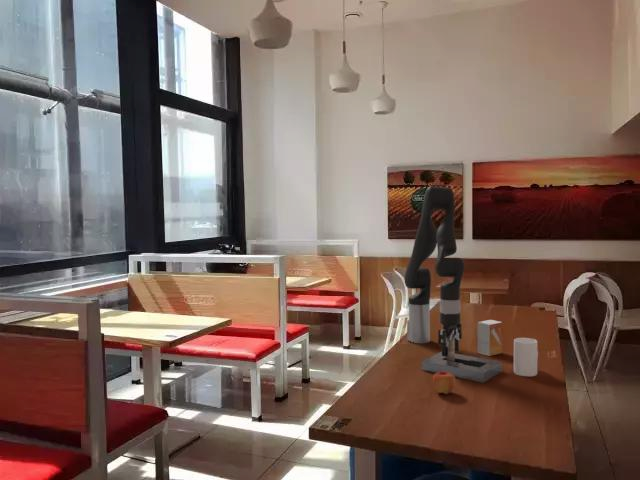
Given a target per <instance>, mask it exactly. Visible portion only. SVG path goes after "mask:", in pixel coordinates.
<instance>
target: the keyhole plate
mask: <svg viewBox="0 0 640 480" xmlns="http://www.w3.org/2000/svg"><path fill="white" fill-rule="evenodd" d="M502 365H503V362H502V361H499V360H493V359H487V358H483V357H476V356H471V355H466V354H460V353H455V362H452V361H447V357H444V356H442V351H439V352H438V353H435V354H434V355H431V356H429V357H427V358H425V359H423V360H421V370H422V371H426V372H429V373H434V374H435V373H437V372H440V370H441V371H445V372H449V373H452V374H453V375H454V376H455V378H459V379H464V380H469V381H473V382H477V383H483V384H484V383H485V382H487V381H489V380H490V379H492V378H494V377H495V376H497V375H499V374H500V373H501V372H503V371H502V370H503V369H502V368H503V367H502ZM439 368H440V369H439Z"/></svg>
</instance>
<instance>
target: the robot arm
mask: <svg viewBox="0 0 640 480" xmlns="http://www.w3.org/2000/svg"><path fill="white" fill-rule="evenodd" d="M423 197H424V198H423V203H422V209H421V215H420V220H419V224H418V228H417V231H416V235H415V238H414V243H413V247H412V252H411V255H410V258H409V262H408V264H407V267H406V270H405V273H404V284H405V287H406V288H408V289H413V290H414V289H419V290H418V291H417V292H416V293H414V294H412V295H410V296H409V297H408V319H407V320H406V327H407V328H406V331H407V332H406V333H407V334H406V335H407V336H406V337H407V340H409V342H410V341H411V343H413V342H414V344H427V343H430V342H431V328H430V327H431V326H430V325H431V321H430V320H431V319H430V318H431V317H430V316H431V313H430V309H431V308H430V307H431V306H430V304H431V303H430V300H431V288H432V287H431V285H432V283H431V281H432V277H431V270H430V269H429V268H428V267H421V266H422V265H423V263H424V262H425V261H426V260H427V259H428V258H429V257H430V256H431V255H432V254H433V253H434V252H435V250H436V248H437V256H436V257H437V258H436V261H435V266H434V270H435V273H436V275H437V276H438V277H441V278H442V277H443V278H446V277H447V278H449V277H453V278H452V280H450V281H448V282H444V283H442V284H440V287H439V290H440V293H439V294H440V295H439V297H440V301H439V323H440V324H441V325H442V326H443V327H442V329H441V328H438V336H437V337H438V338H437V339H438V340H437V345H438V346H441V352H442V356H444V357H447V356H448V344H449V342H450V341H451V338H452V337H455V353H456V352H459V351H460V349H459V347H460V346H459V343H460V340H462V335H463V331H462V323H461V322H462V321H461V300H460V299H461V298H460V297H461V294H460V292H461V291H460V289H461V284H462V279H463V276H464V272H465V267H466V266H465V265H466V264H465V262H464V260H463V258H460V257H449V256H453V255H454V254H456V253H457V250H458V249H457V248H458V247H457V242H456V235H455V234H456V233H455V193H454V191H453V189H452V188H451V187H447V186H434V185H433V186H432V185H431V186H427V188H426V190H425V193H424V196H423ZM433 210H438V211H440V210H441V211H445V215H444V218H443V220H442V222H441V223H440V225H439V227H438V228H437V227H436V225H435V223H434V221H433V218H432V211H433Z"/></svg>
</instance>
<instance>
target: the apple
mask: <svg viewBox="0 0 640 480" xmlns="http://www.w3.org/2000/svg"><path fill="white" fill-rule="evenodd" d="M439 369H440V368H439ZM456 382H457V380H456V377H455V376H454V375H453V374H452V373H449V372H445V371H441V370H440V372H437V373H434V374H433V375H432V385H433V387H434V390H436V392H438V394H444V395H448V394H450V393H451V392H452V391H453V390H454V389H455V386H456Z"/></svg>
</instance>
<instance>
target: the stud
mask: <svg viewBox="0 0 640 480" xmlns="http://www.w3.org/2000/svg"><path fill="white" fill-rule="evenodd" d="M455 354H456V351H455V337H452V338H451V341H450V342H449V344H448V356H447V361H452V362H455Z"/></svg>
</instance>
